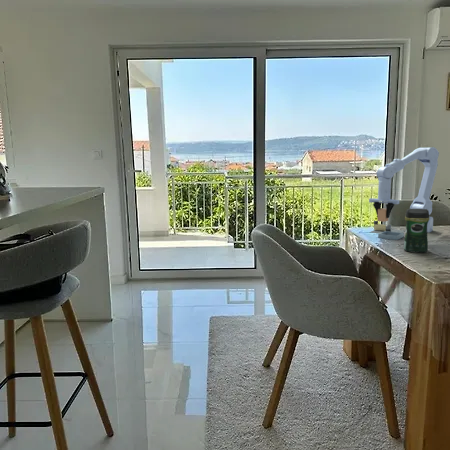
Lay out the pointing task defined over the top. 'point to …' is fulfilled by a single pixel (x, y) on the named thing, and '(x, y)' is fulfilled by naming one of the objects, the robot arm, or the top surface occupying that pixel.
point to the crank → (382, 226)
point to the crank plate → (390, 231)
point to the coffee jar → (416, 230)
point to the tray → (391, 235)
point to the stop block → (382, 215)
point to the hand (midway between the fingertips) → (383, 217)
